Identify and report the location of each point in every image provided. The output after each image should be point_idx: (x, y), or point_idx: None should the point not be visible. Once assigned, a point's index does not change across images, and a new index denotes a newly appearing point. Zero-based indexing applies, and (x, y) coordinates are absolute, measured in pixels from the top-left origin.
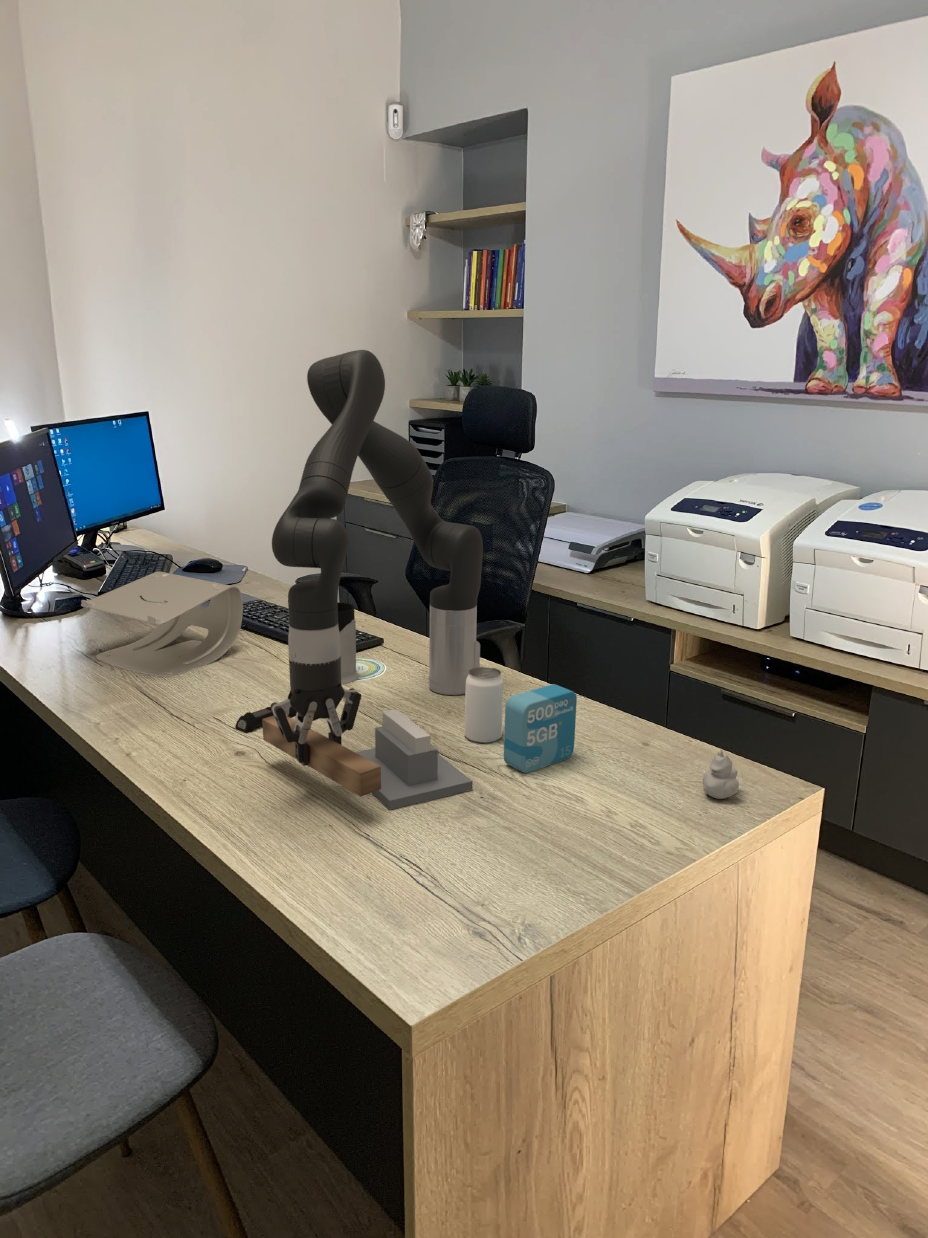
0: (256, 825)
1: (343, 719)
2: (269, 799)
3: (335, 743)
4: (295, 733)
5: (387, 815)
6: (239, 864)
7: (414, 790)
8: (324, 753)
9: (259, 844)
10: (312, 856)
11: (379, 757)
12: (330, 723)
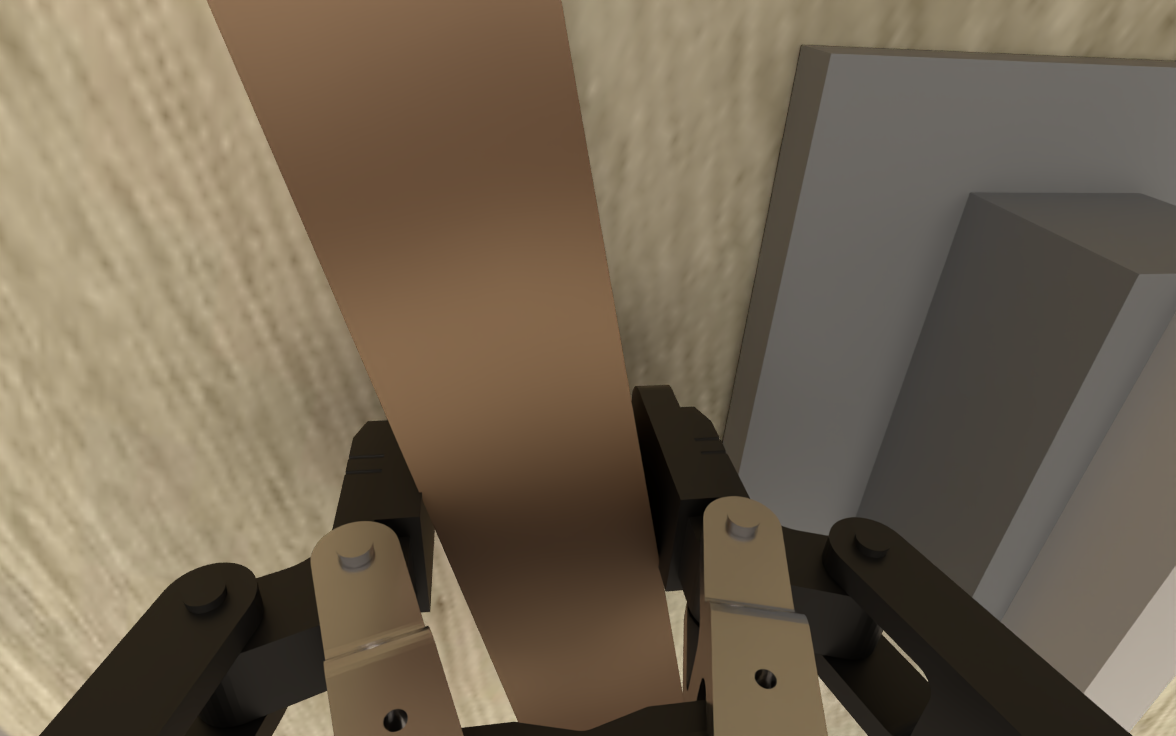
0: (107, 524)
1: (861, 606)
2: (203, 313)
3: (649, 597)
4: (307, 683)
5: (667, 602)
6: (28, 724)
7: None
8: (507, 691)
9: (117, 644)
10: (314, 733)
11: (960, 258)
12: (686, 698)
